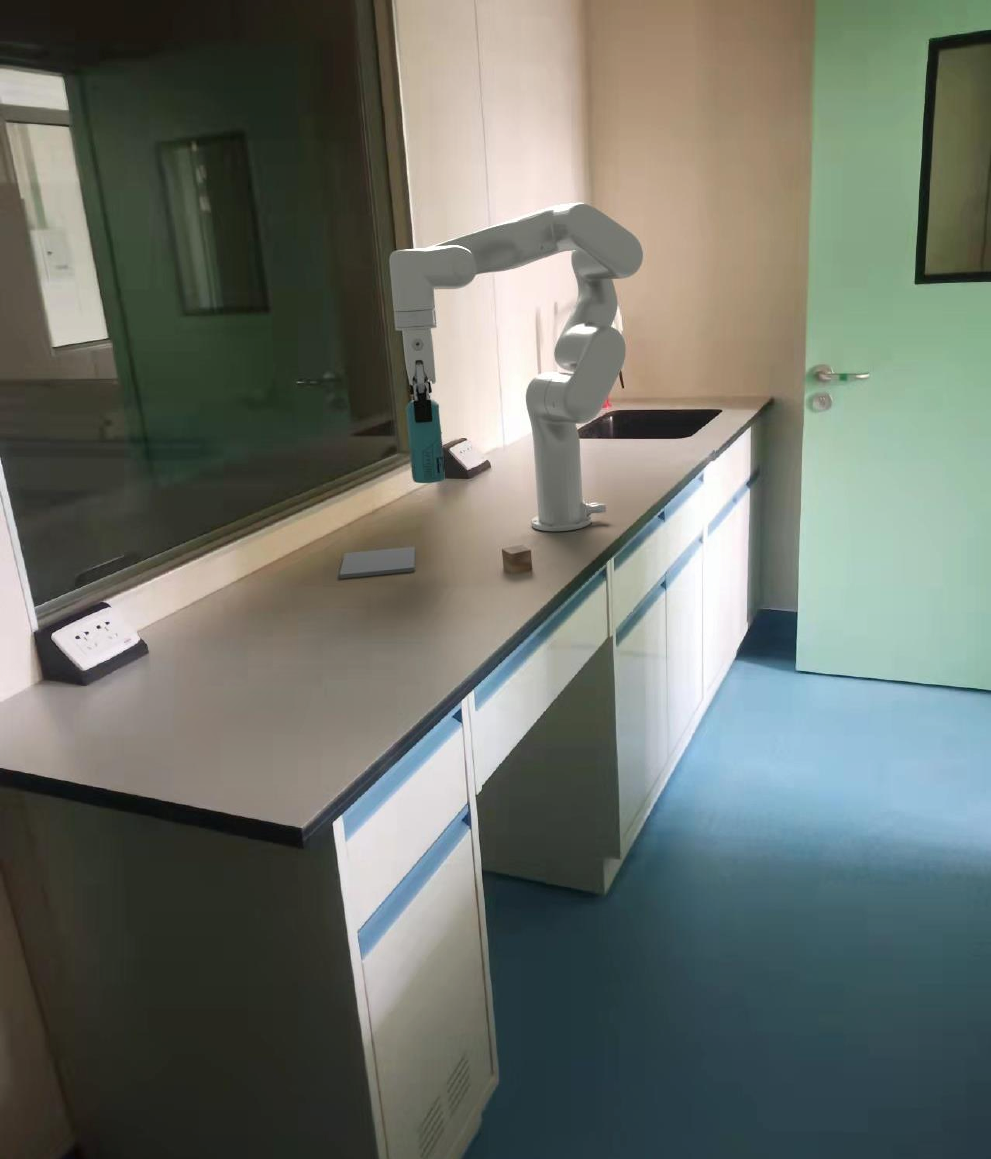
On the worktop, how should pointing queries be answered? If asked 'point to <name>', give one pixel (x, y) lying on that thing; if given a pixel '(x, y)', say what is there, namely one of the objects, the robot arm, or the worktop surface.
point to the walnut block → (517, 559)
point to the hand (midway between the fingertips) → (423, 418)
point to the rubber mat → (378, 562)
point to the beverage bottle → (425, 445)
